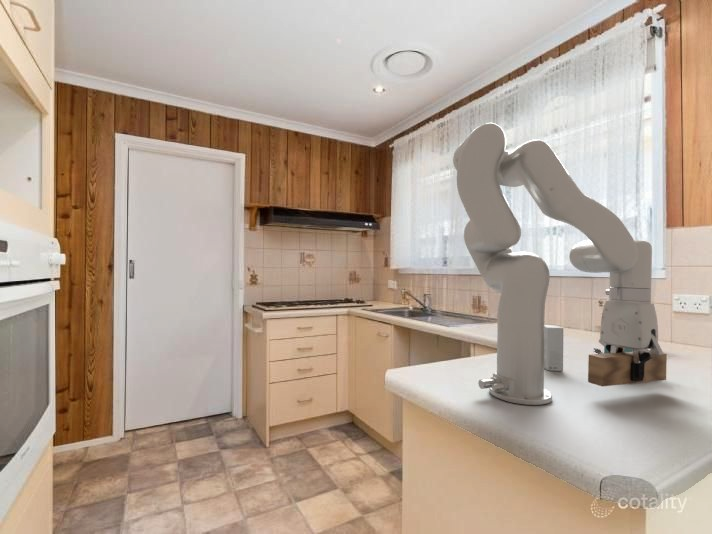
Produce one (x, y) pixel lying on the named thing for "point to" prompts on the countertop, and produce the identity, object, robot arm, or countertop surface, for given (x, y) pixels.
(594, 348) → the tomahawk
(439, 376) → the countertop surface
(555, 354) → the skincare box
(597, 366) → the walnut beam
